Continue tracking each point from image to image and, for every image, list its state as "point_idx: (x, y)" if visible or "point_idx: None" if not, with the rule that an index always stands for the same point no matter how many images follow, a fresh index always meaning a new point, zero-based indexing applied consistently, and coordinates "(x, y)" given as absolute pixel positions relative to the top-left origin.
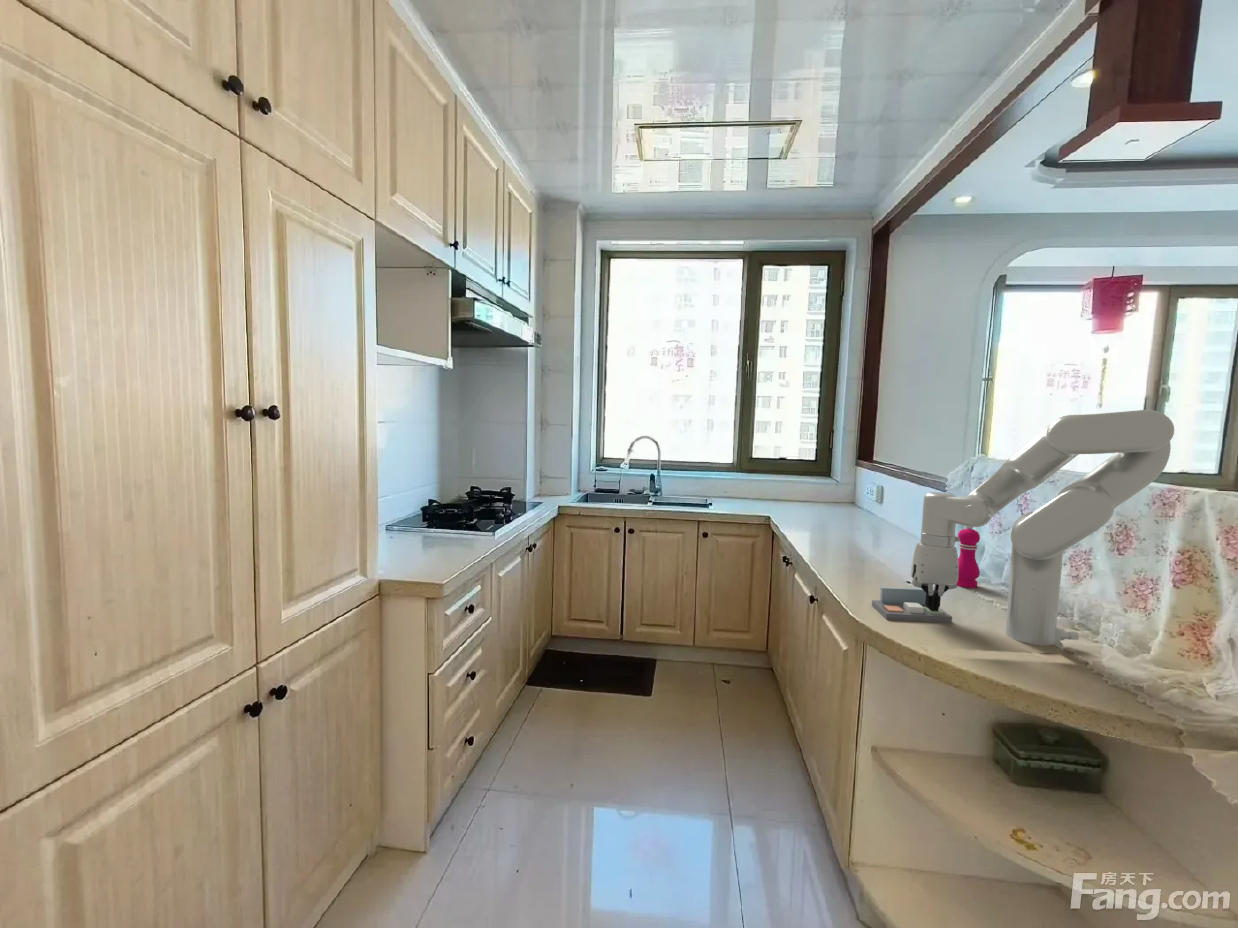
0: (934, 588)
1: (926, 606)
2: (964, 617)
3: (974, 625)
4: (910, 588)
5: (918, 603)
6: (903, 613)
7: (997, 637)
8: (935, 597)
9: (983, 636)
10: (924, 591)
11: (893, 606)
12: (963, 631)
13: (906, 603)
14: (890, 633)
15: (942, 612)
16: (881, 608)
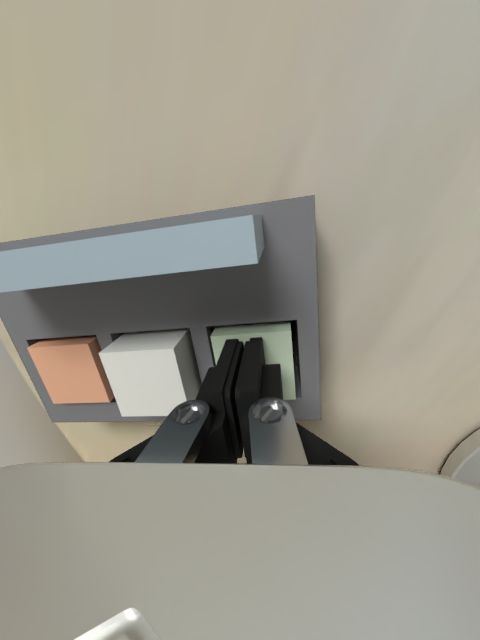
0: (251, 436)
1: (226, 340)
2: (476, 218)
3: (447, 334)
4: (99, 251)
5: (175, 356)
6: (113, 411)
7: (454, 442)
8: (241, 455)
9: (400, 440)
10: (177, 407)
11: (69, 353)
12: (347, 407)
13: (112, 371)
14: (98, 450)
15: (288, 397)
16: (27, 368)
